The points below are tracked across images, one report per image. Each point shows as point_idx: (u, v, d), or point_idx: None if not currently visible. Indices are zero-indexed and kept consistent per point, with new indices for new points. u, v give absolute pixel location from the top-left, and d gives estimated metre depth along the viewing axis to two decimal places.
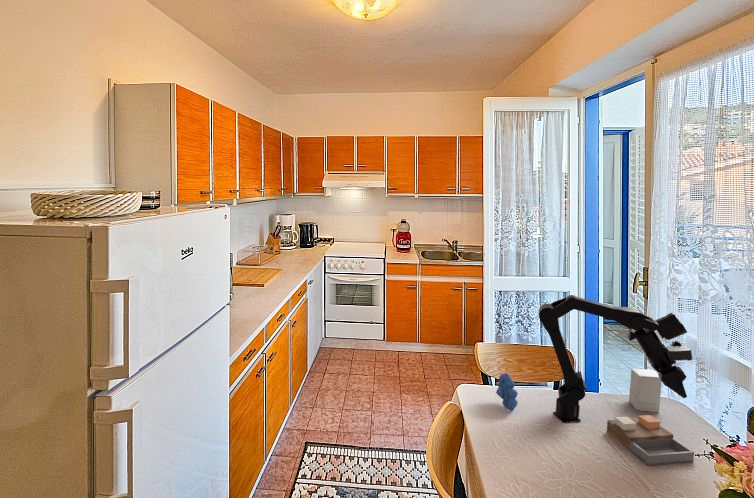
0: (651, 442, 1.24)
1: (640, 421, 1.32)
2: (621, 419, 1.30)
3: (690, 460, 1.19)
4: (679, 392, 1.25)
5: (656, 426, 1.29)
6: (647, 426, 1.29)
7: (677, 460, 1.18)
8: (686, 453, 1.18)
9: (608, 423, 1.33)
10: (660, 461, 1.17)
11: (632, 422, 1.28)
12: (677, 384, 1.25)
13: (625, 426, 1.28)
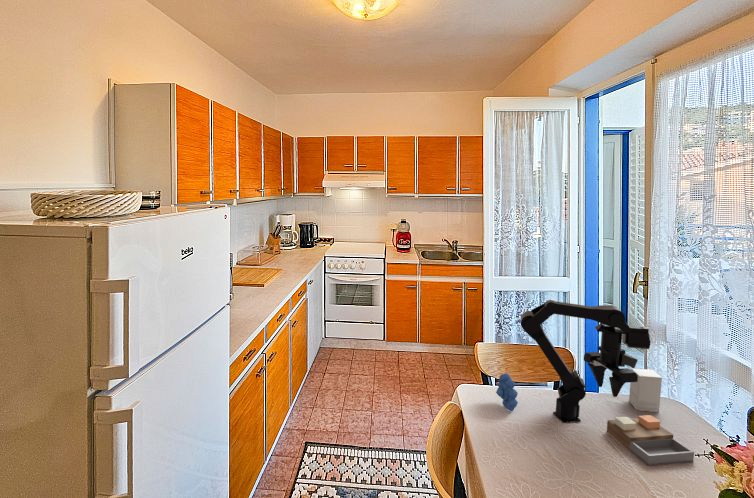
0: (651, 442, 1.24)
1: (640, 421, 1.32)
2: (621, 419, 1.30)
3: (690, 460, 1.19)
4: (615, 390, 1.33)
5: (656, 426, 1.29)
6: (647, 426, 1.29)
7: (677, 460, 1.18)
8: (686, 453, 1.18)
9: (608, 423, 1.33)
10: (660, 461, 1.17)
11: (632, 422, 1.28)
12: (618, 383, 1.33)
13: (625, 426, 1.28)
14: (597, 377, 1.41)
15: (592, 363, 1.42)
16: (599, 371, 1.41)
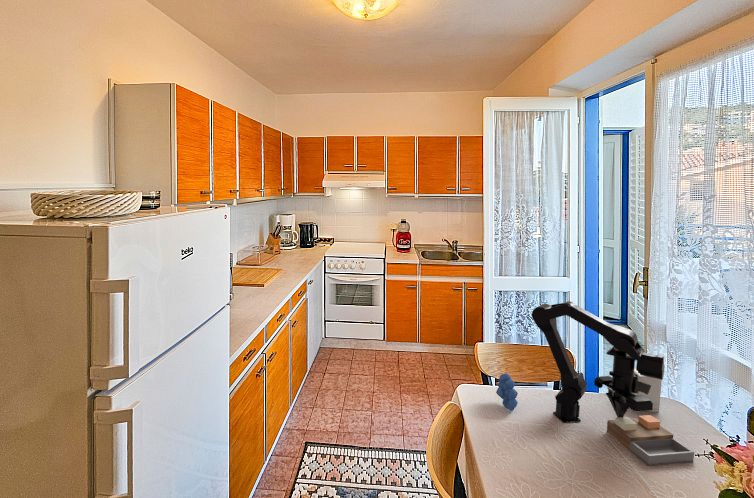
0: (651, 442, 1.24)
1: (640, 421, 1.32)
2: (621, 420, 1.30)
3: (690, 460, 1.19)
4: (621, 412, 1.31)
5: (656, 426, 1.29)
6: (647, 426, 1.29)
7: (677, 460, 1.18)
8: (686, 453, 1.18)
9: (608, 423, 1.33)
10: (660, 461, 1.17)
11: (632, 422, 1.28)
12: (624, 405, 1.31)
13: (626, 426, 1.27)
14: None
15: (611, 393, 1.33)
16: None
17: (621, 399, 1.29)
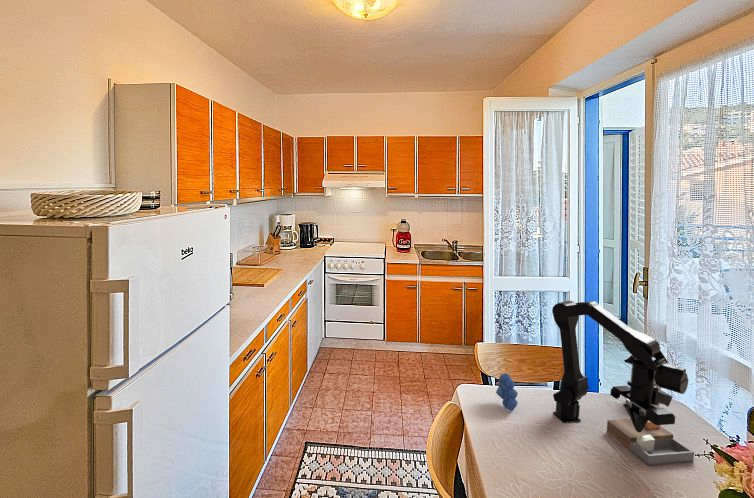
0: None
1: None
2: (644, 445, 1.21)
3: (690, 460, 1.19)
4: (640, 425, 1.23)
5: (656, 426, 1.29)
6: (647, 426, 1.29)
7: (677, 460, 1.18)
8: (686, 453, 1.18)
9: (608, 423, 1.33)
10: (660, 461, 1.17)
11: (650, 449, 1.22)
12: (643, 418, 1.23)
13: None
14: None
15: (628, 404, 1.25)
16: None
17: (640, 411, 1.22)
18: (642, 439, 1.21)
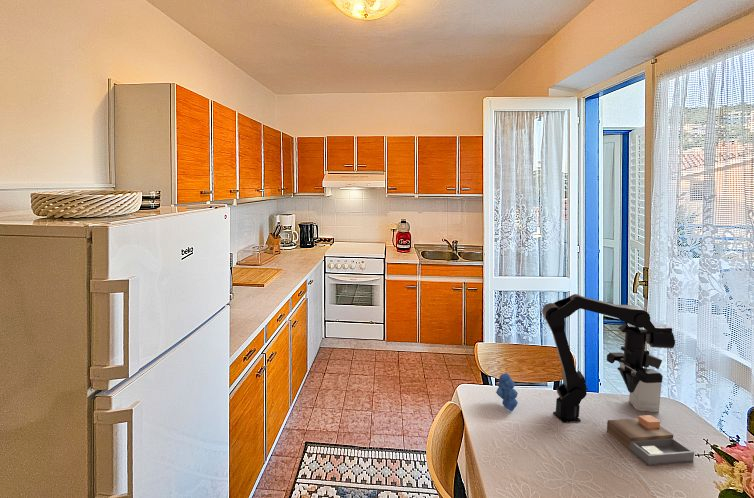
0: (651, 442, 1.24)
1: (640, 421, 1.32)
2: None
3: (690, 460, 1.19)
4: (631, 386, 1.36)
5: (656, 426, 1.29)
6: (647, 426, 1.29)
7: (677, 460, 1.18)
8: (686, 453, 1.18)
9: (608, 423, 1.33)
10: (660, 461, 1.17)
11: None
12: (635, 379, 1.36)
13: None
14: None
15: (622, 367, 1.39)
16: None
17: (632, 373, 1.35)
18: None
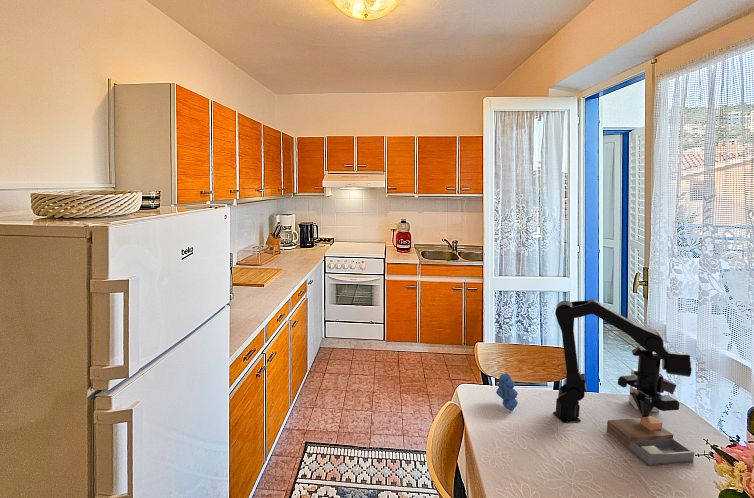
0: (651, 442, 1.24)
1: (642, 422, 1.31)
2: None
3: (690, 460, 1.19)
4: (645, 412, 1.31)
5: (658, 427, 1.28)
6: (649, 427, 1.28)
7: (677, 460, 1.18)
8: (686, 453, 1.18)
9: (608, 423, 1.33)
10: (660, 461, 1.17)
11: None
12: (649, 405, 1.31)
13: None
14: None
15: (635, 392, 1.34)
16: None
17: (646, 399, 1.30)
18: None
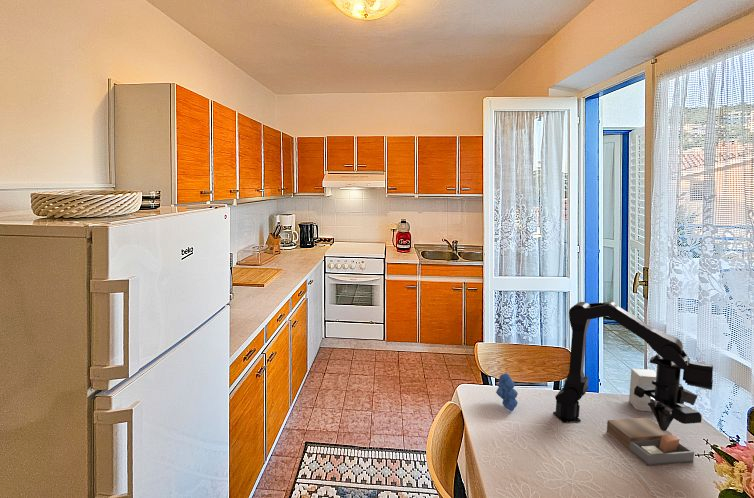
0: (651, 442, 1.24)
1: (662, 440, 1.23)
2: None
3: (690, 460, 1.19)
4: (665, 424, 1.24)
5: None
6: (660, 447, 1.24)
7: (677, 460, 1.18)
8: (686, 453, 1.18)
9: (608, 423, 1.33)
10: (660, 461, 1.17)
11: None
12: (668, 417, 1.24)
13: None
14: (659, 419, 1.25)
15: (653, 403, 1.26)
16: None
17: (665, 410, 1.23)
18: None
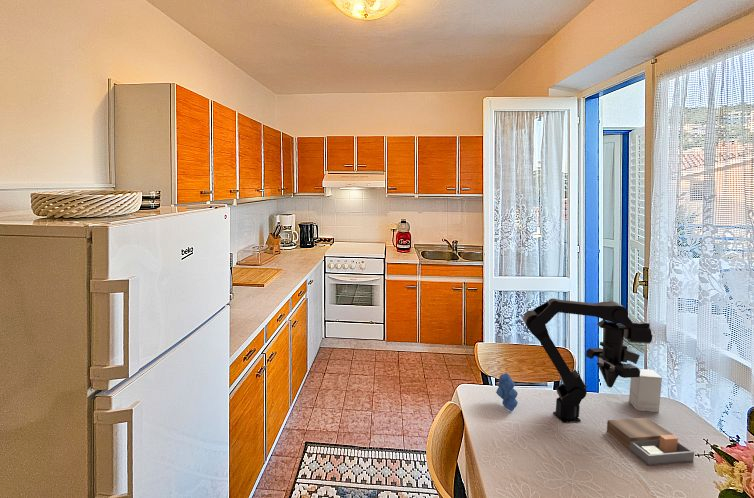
0: (651, 442, 1.24)
1: (661, 439, 1.23)
2: None
3: (690, 460, 1.19)
4: (610, 381, 1.38)
5: None
6: (660, 448, 1.24)
7: (677, 460, 1.18)
8: (686, 453, 1.18)
9: (608, 423, 1.33)
10: (660, 461, 1.17)
11: None
12: (613, 374, 1.37)
13: None
14: None
15: (601, 363, 1.40)
16: None
17: (610, 368, 1.36)
18: None
